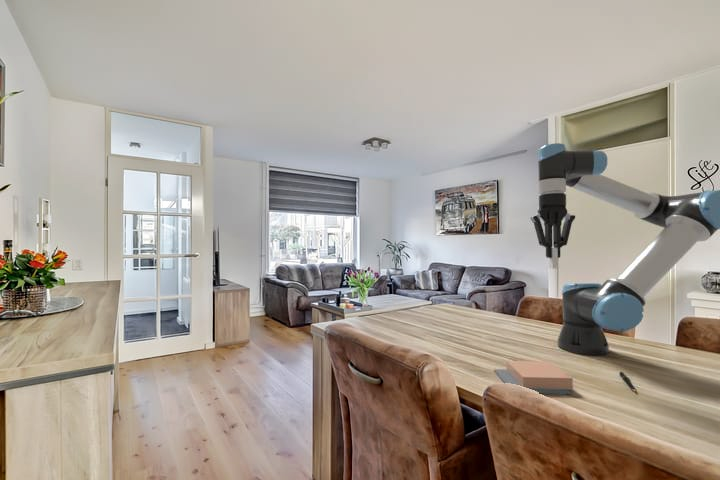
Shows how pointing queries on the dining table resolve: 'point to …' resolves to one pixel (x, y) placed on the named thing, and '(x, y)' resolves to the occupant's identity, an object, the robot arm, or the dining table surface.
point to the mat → (509, 379)
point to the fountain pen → (627, 380)
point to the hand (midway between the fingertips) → (553, 268)
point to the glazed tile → (539, 375)
